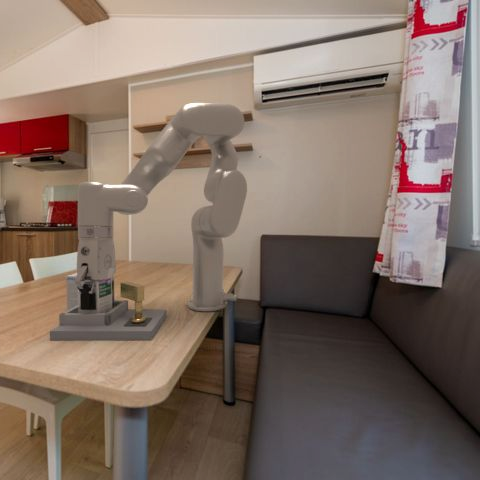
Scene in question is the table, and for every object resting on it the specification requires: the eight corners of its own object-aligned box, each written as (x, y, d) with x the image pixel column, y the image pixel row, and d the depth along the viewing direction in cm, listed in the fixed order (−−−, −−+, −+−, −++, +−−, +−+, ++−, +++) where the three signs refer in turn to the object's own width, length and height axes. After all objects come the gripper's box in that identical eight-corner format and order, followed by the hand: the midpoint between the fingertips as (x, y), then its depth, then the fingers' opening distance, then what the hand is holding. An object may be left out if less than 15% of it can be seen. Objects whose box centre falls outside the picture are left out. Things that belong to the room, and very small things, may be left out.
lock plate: (166, 316, 68) (166, 300, 68) (151, 340, 54) (151, 320, 54) (86, 316, 67) (86, 300, 66) (49, 340, 53) (49, 319, 53)
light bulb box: (86, 301, 80) (86, 268, 79) (108, 301, 80) (107, 268, 79) (65, 313, 69) (65, 275, 68) (90, 313, 69) (90, 275, 69)
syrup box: (98, 330, 58) (98, 270, 57) (77, 327, 59) (76, 268, 59) (115, 321, 64) (115, 266, 63) (95, 319, 65) (95, 265, 64)
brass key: (136, 324, 56) (136, 288, 56) (117, 316, 61) (117, 283, 60) (148, 319, 59) (148, 285, 59) (129, 313, 63) (129, 280, 63)
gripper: (92, 235, 52) (93, 317, 53) (126, 232, 69) (126, 294, 70) (55, 234, 51) (57, 317, 52) (99, 232, 69) (99, 294, 70)
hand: (96, 303), depth 61 cm, fingers open, 6 cm apart
